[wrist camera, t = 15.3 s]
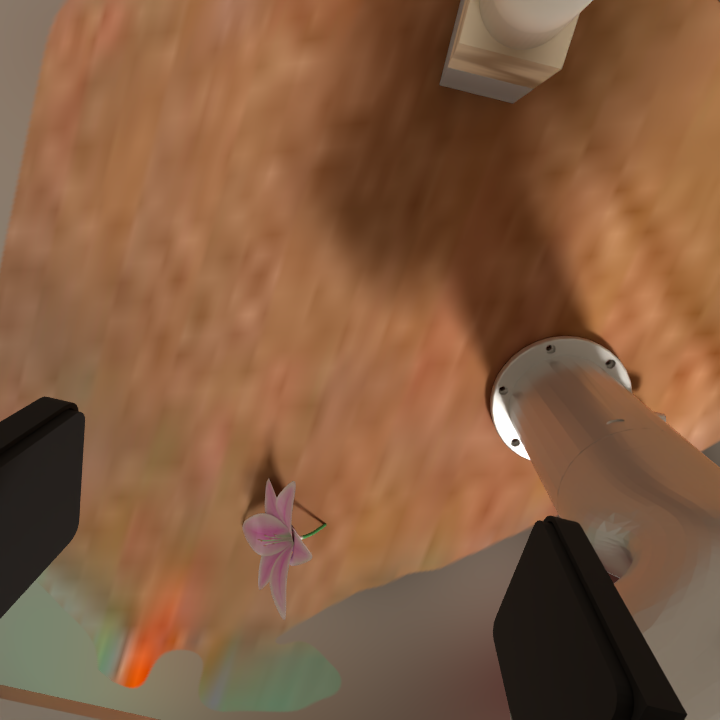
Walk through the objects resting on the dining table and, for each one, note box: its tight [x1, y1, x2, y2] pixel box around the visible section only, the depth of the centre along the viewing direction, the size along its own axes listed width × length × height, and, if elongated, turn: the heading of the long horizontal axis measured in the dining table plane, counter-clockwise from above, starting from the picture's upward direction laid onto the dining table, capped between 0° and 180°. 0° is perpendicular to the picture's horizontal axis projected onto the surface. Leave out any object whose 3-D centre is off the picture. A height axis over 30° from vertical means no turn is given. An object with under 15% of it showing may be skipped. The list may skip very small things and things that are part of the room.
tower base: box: [439, 0, 533, 103], centre depth 36 cm, size 6×6×6 cm
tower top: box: [448, 0, 580, 89], centre depth 30 cm, size 6×6×6 cm
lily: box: [243, 478, 326, 620], centre depth 50 cm, size 12×12×10 cm
